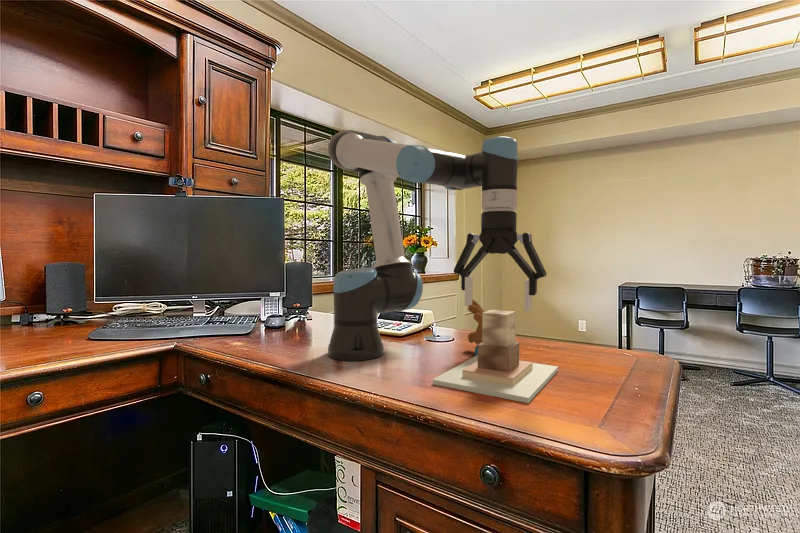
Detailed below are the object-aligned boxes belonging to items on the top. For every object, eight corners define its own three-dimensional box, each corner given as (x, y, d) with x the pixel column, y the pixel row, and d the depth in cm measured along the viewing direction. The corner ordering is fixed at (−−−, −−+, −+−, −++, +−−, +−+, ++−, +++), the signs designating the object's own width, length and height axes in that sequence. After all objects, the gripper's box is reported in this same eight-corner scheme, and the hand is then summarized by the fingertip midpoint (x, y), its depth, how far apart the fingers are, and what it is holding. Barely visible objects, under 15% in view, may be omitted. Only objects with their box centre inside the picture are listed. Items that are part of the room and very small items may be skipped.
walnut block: (477, 367, 88) (477, 344, 88) (489, 360, 94) (489, 338, 94) (508, 372, 85) (509, 348, 84) (519, 364, 90) (519, 342, 90)
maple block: (482, 344, 88) (482, 312, 88) (491, 339, 93) (491, 309, 93) (507, 347, 85) (507, 314, 85) (515, 342, 90) (515, 311, 90)
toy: (467, 348, 116) (467, 296, 116) (492, 349, 115) (492, 296, 115) (467, 359, 104) (467, 301, 104) (495, 360, 103) (495, 302, 103)
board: (432, 384, 85) (432, 372, 85) (477, 358, 105) (477, 349, 105) (528, 403, 74) (528, 389, 74) (558, 370, 94) (558, 360, 94)
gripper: (440, 212, 92) (438, 304, 93) (554, 207, 78) (551, 315, 79) (454, 214, 98) (453, 301, 99) (562, 209, 84) (560, 310, 86)
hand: (497, 307), depth 89 cm, fingers open, 13 cm apart
